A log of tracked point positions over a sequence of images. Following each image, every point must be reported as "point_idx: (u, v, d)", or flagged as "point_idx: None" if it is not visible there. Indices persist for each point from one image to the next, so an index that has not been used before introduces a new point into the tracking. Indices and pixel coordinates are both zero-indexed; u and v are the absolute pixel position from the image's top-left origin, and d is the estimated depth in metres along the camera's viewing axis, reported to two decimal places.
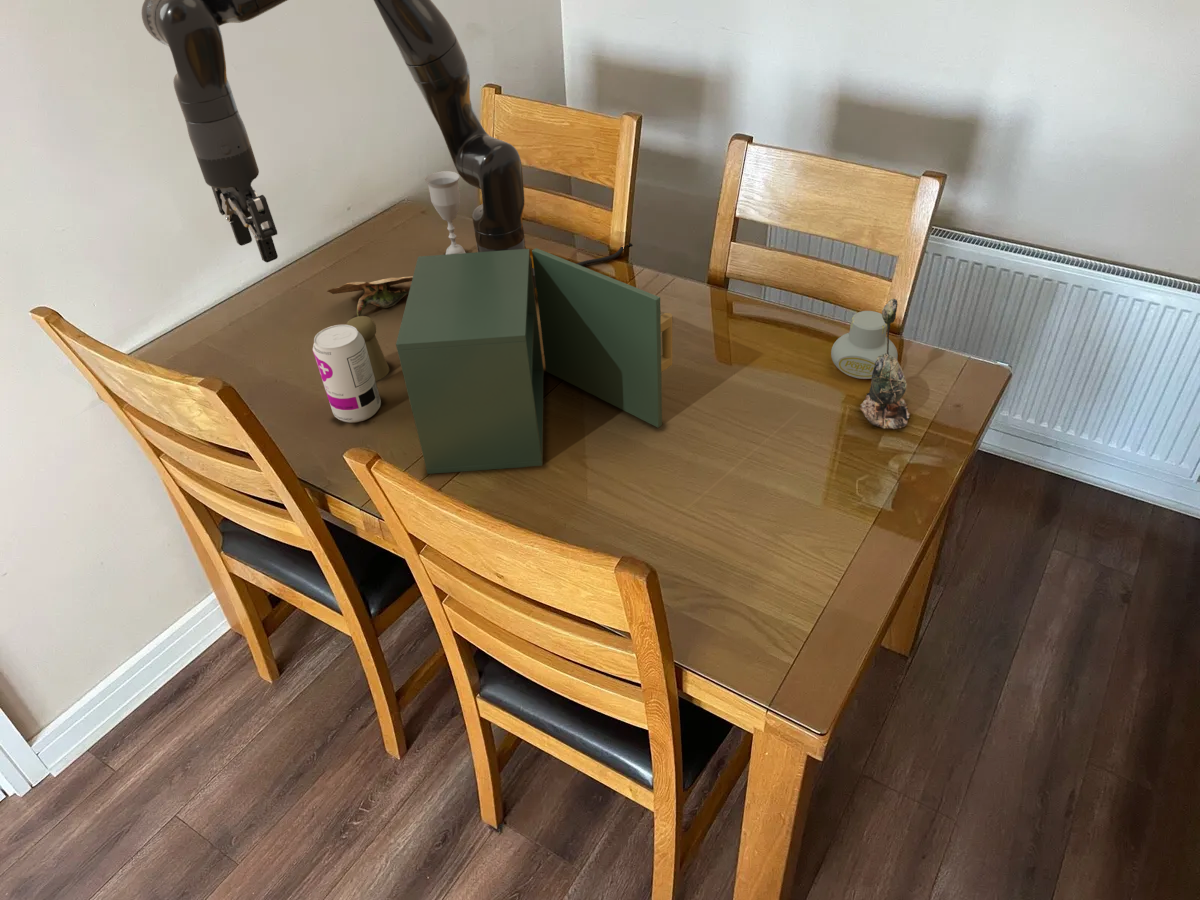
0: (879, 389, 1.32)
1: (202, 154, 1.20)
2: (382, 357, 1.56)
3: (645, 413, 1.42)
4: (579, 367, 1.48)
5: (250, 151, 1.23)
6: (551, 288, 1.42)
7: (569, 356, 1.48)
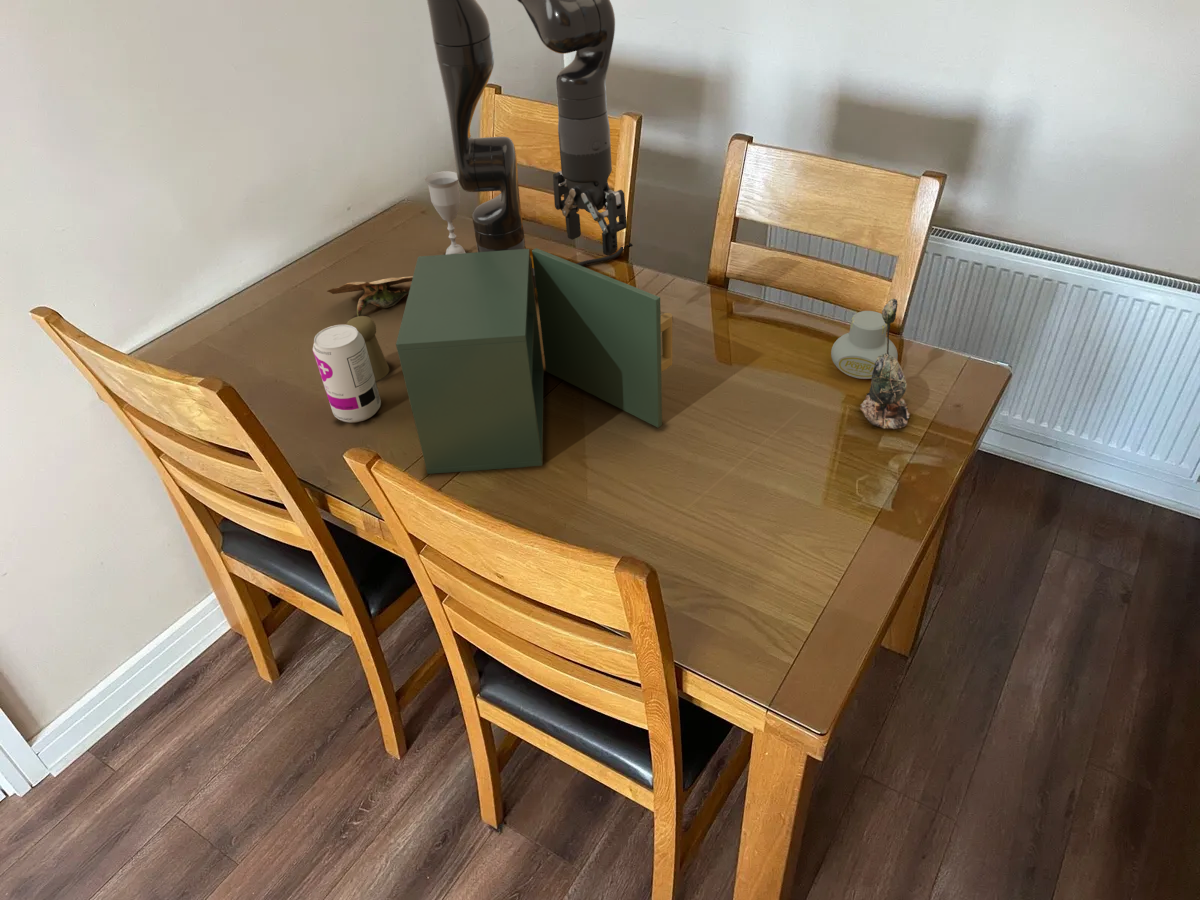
0: (879, 389, 1.32)
1: (572, 149, 1.25)
2: (382, 357, 1.56)
3: (645, 413, 1.42)
4: (579, 367, 1.48)
5: (610, 147, 1.28)
6: (551, 288, 1.42)
7: (569, 356, 1.48)
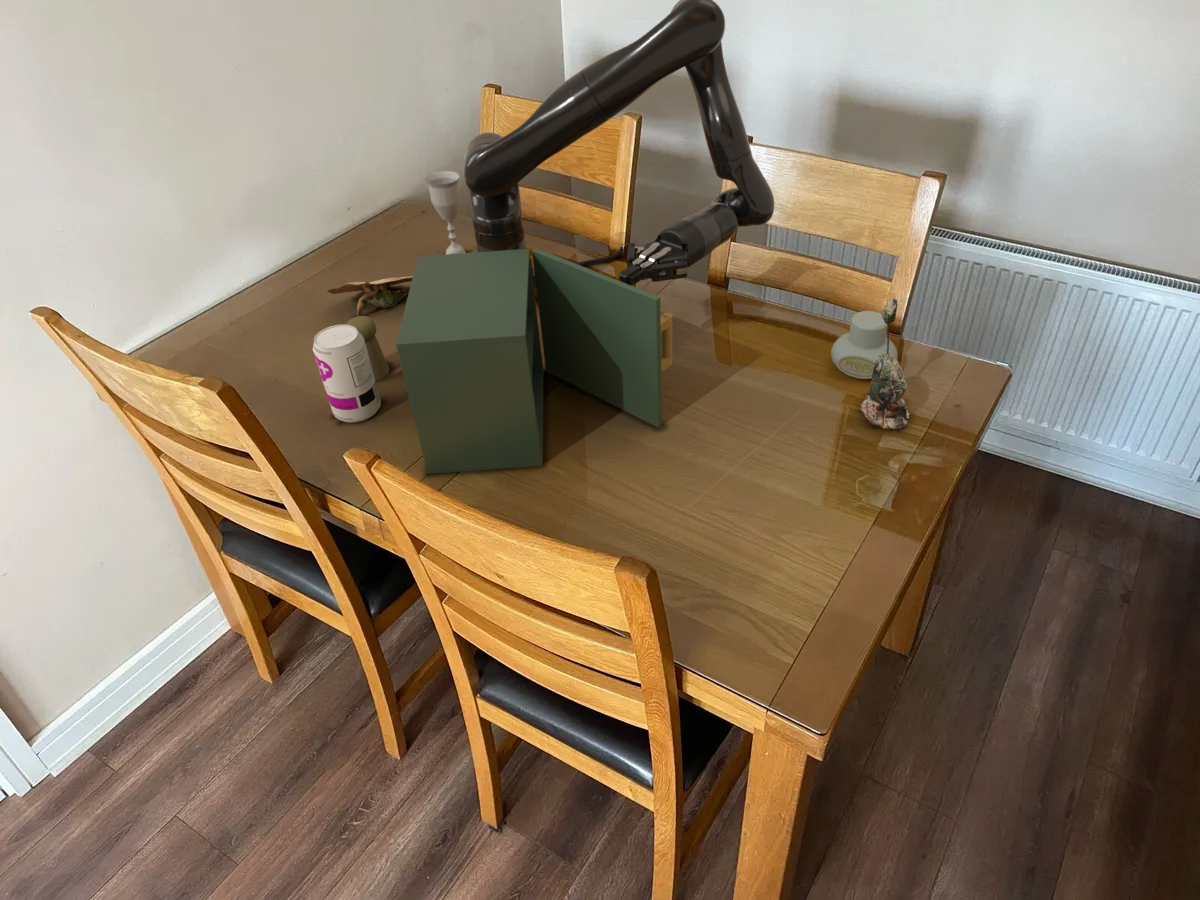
0: (879, 389, 1.32)
1: (696, 223, 1.47)
2: (382, 357, 1.56)
3: (645, 413, 1.42)
4: (579, 367, 1.48)
5: None
6: (551, 288, 1.42)
7: (569, 356, 1.48)
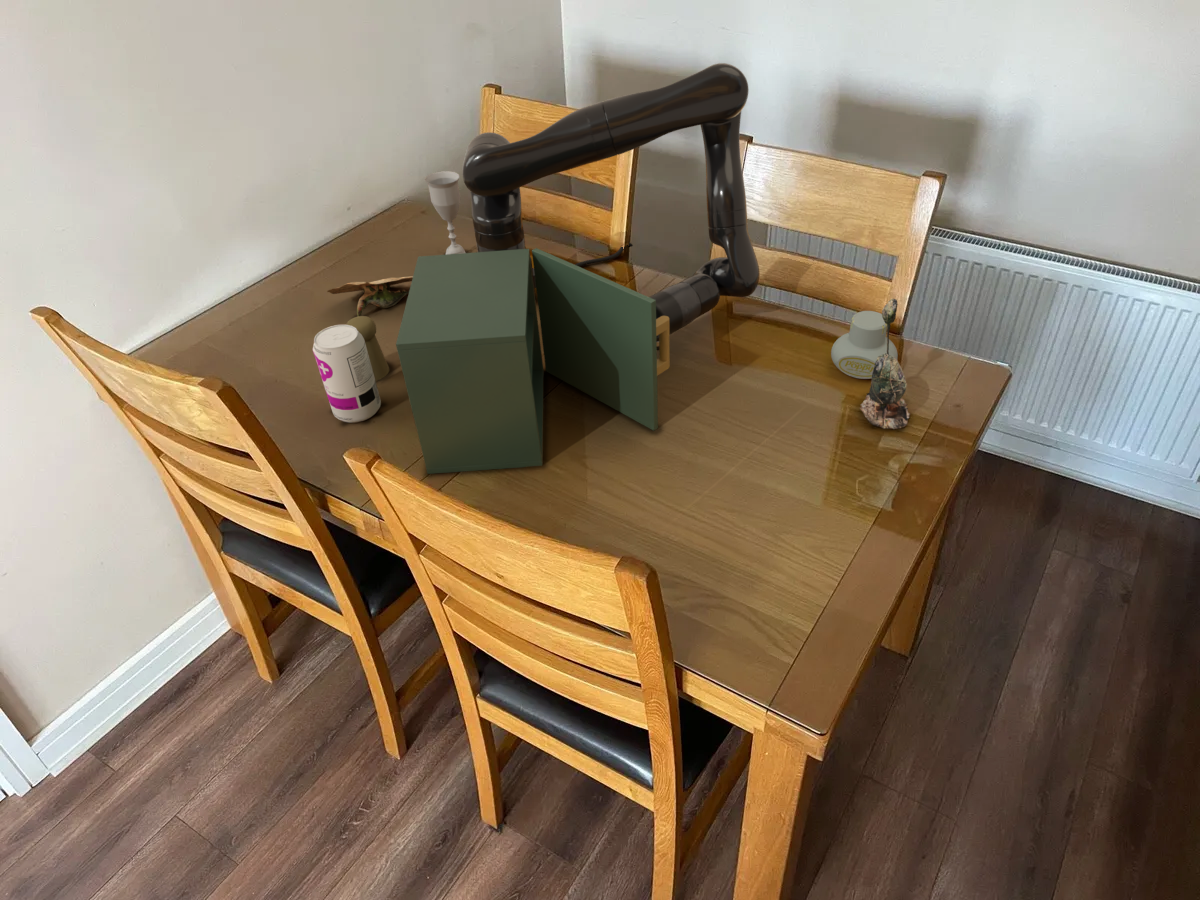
0: (879, 389, 1.32)
1: (675, 295, 1.49)
2: (382, 357, 1.56)
3: (641, 416, 1.41)
4: (578, 368, 1.48)
5: (675, 331, 1.52)
6: (550, 288, 1.42)
7: (568, 357, 1.48)
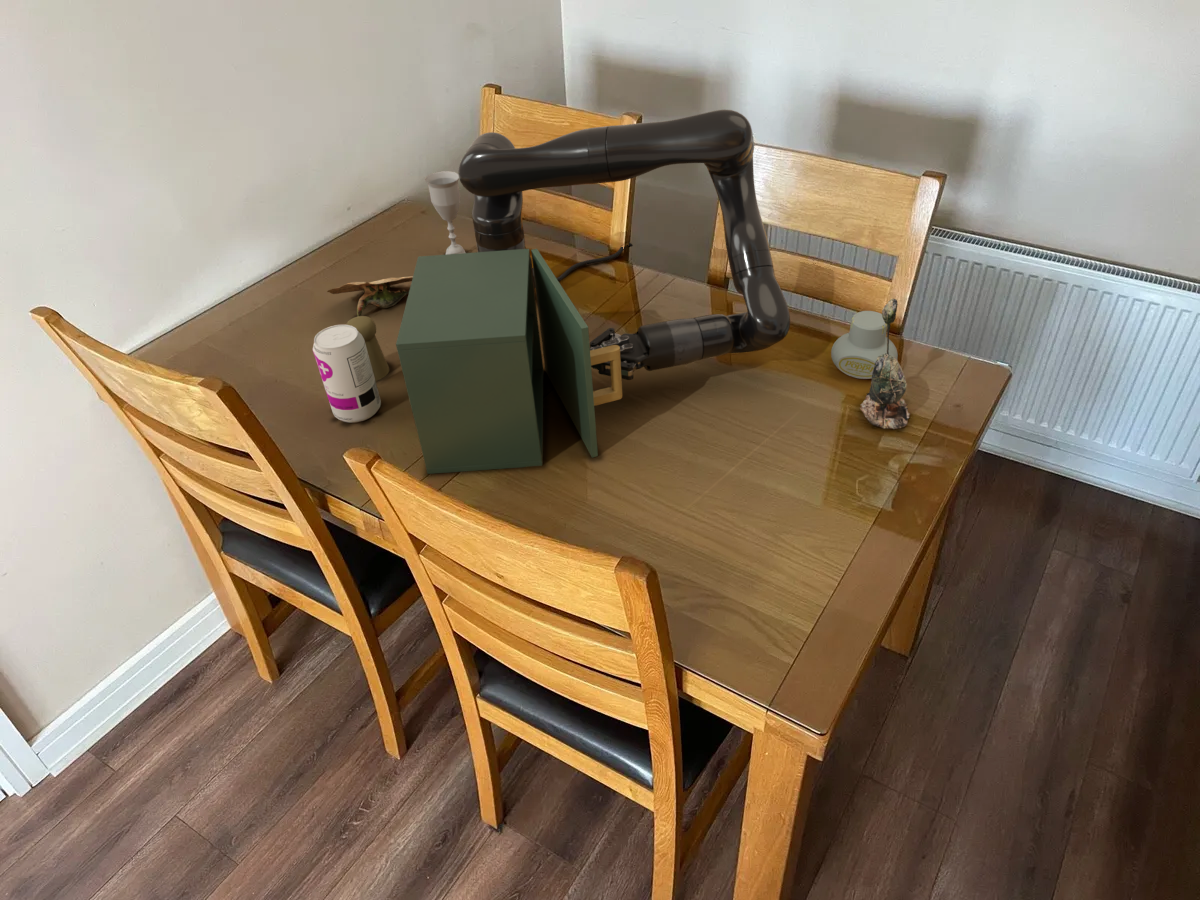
0: (879, 389, 1.32)
1: (674, 329, 1.40)
2: (382, 357, 1.56)
3: (585, 439, 1.37)
4: (557, 375, 1.46)
5: (669, 366, 1.43)
6: (541, 291, 1.41)
7: (552, 362, 1.47)
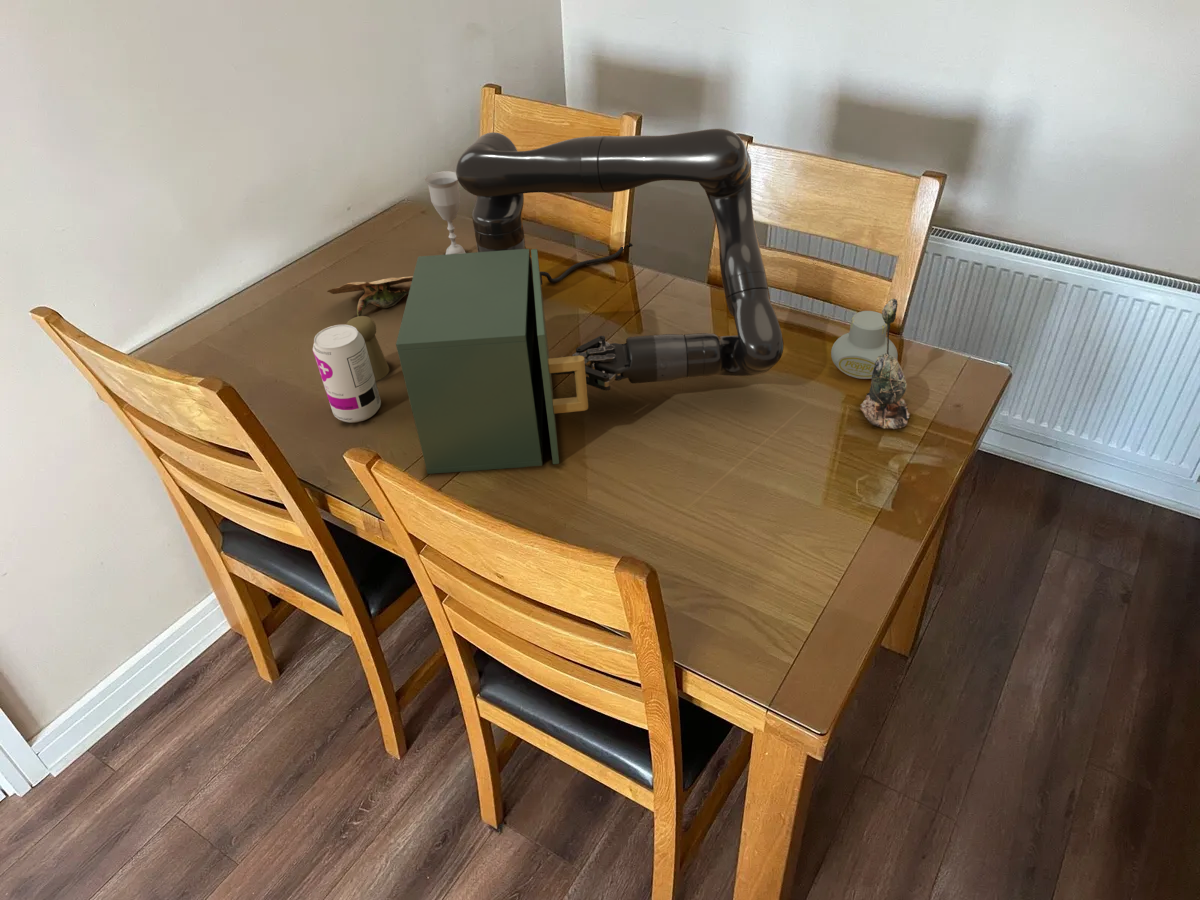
0: (879, 389, 1.32)
1: (659, 344, 1.37)
2: (382, 357, 1.56)
3: None
4: None
5: (653, 381, 1.40)
6: None
7: None
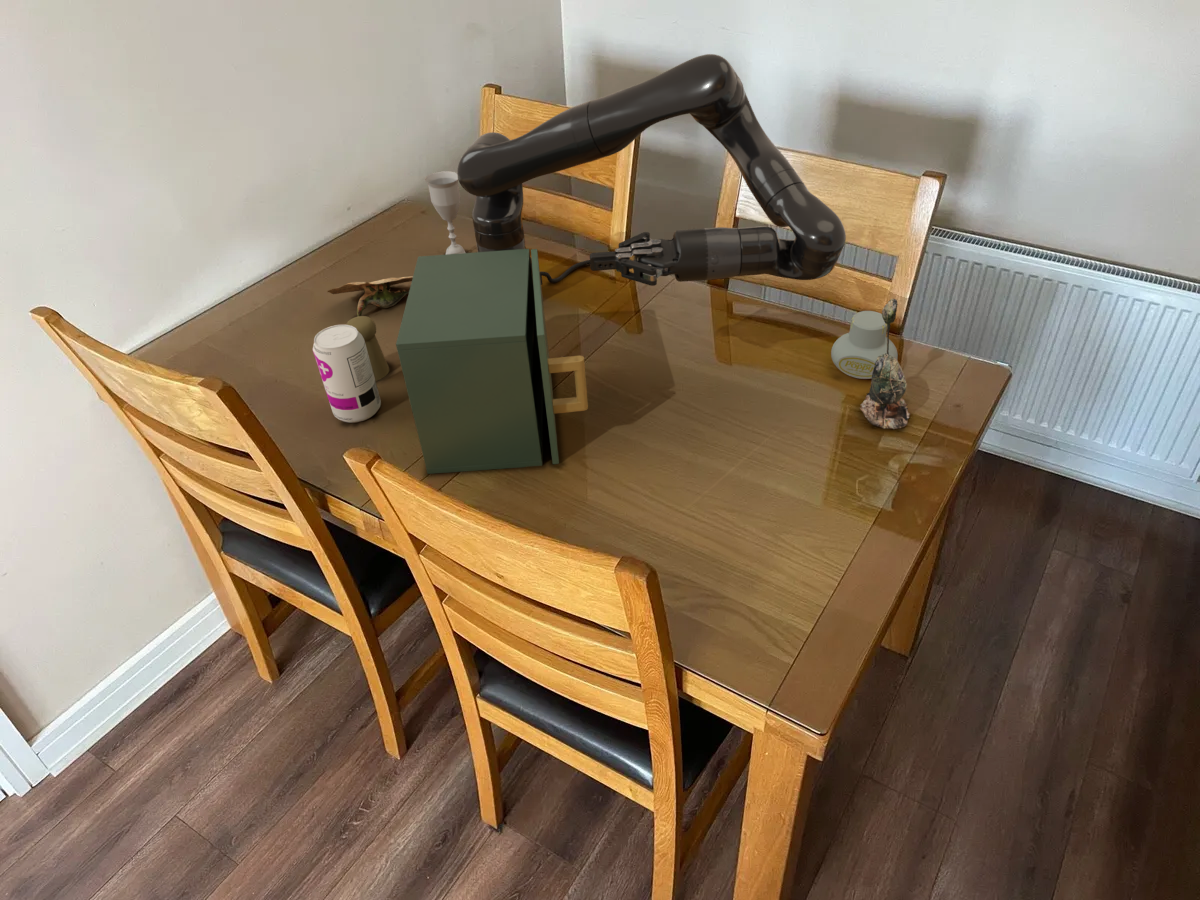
0: (879, 389, 1.32)
1: (710, 236, 1.26)
2: (382, 357, 1.56)
3: None
4: None
5: (702, 279, 1.29)
6: None
7: None
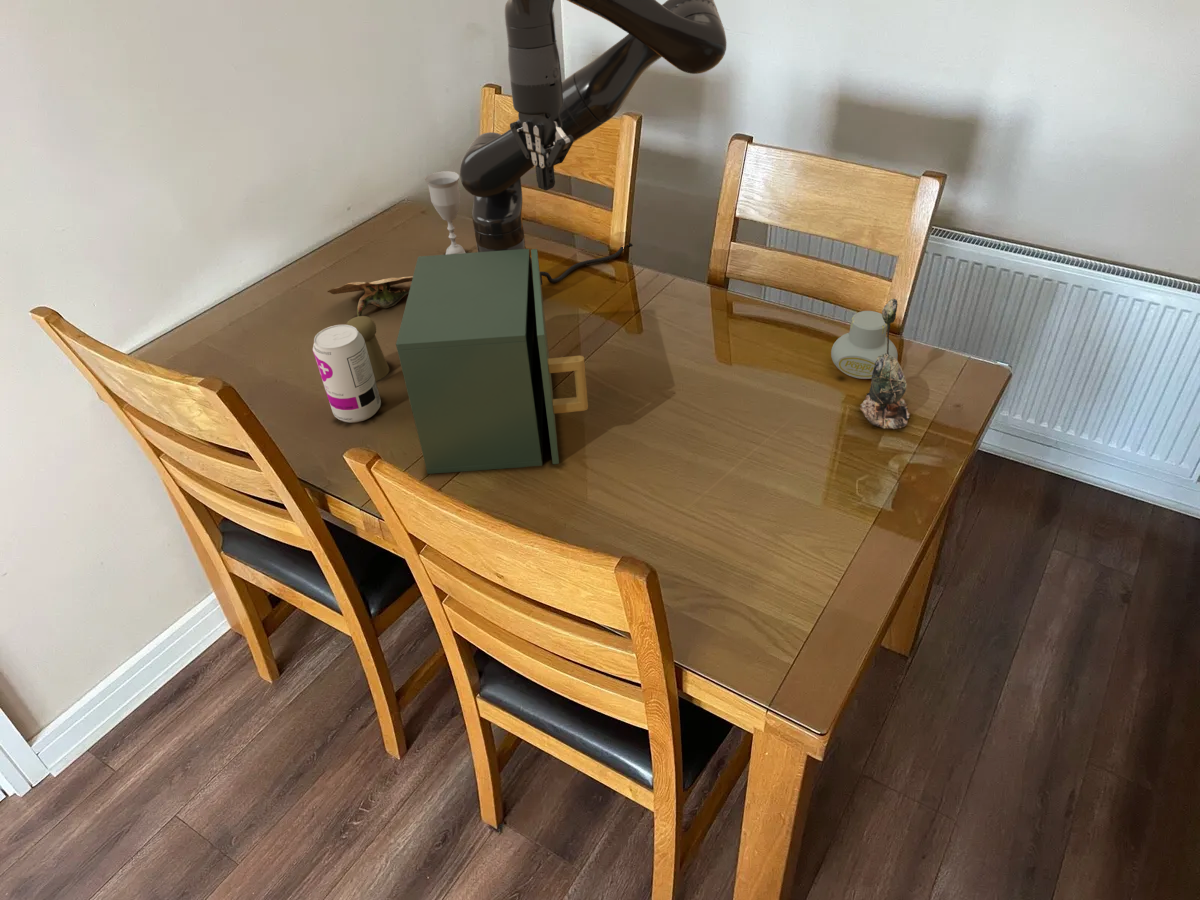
0: (879, 389, 1.32)
1: None
2: (382, 357, 1.56)
3: None
4: None
5: None
6: None
7: None
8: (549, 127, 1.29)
